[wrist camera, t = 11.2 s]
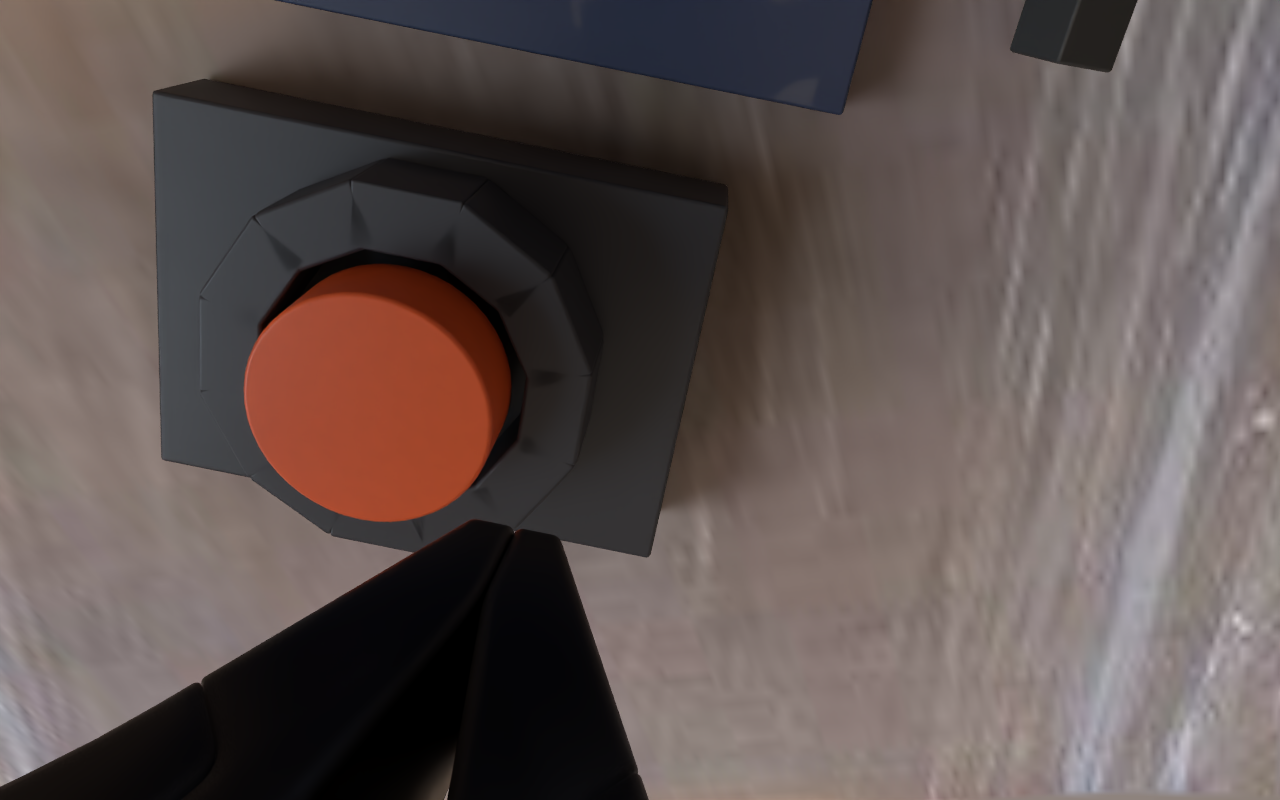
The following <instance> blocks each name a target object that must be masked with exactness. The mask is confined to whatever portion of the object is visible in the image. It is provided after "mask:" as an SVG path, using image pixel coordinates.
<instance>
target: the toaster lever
mask: <svg viewBox="0 0 1280 800" xmlns="http://www.w3.org/2000/svg"><path fill="white" fill-rule="evenodd" d="M1136 3H1137V0H1026V1H1025V4H1024V7H1023V10H1022V13H1021V16H1020V19H1019V22H1018V25H1017V29H1016V32H1015V35H1014V38H1013V41H1012V44H1011V47H1010V50H1011V51H1012V52H1014V53H1018V54H1022V55H1026V56H1030V57H1034V58H1038V59H1042V60H1046V61H1050V62H1053V63H1057V64H1063V65H1068V66H1074V67H1080V68H1085V69H1091V70H1096V71H1102V72H1110V71H1111V70H1112V68H1113V65H1114V62H1115V60H1116V57H1117V54H1118V52H1119V49H1120V46H1121V43H1122V41H1123V38H1124V35H1125V33H1126V30H1127V27H1128V25H1129V22H1130V19H1131V16H1132V14H1133V11H1134V8H1135V6H1136Z"/></svg>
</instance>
